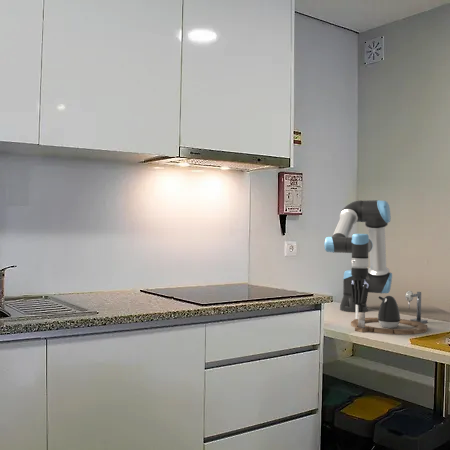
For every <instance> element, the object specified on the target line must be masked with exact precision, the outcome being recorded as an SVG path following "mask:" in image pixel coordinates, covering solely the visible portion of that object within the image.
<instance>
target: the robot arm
mask: <svg viewBox="0 0 450 450" xmlns="http://www.w3.org/2000/svg"><path fill="white" fill-rule="evenodd" d="M391 218H392V217H391V208H390V205H389V202H388V201H386V200H380V199H378V200H374V199H373V200H359V199H358V200H355V201H352V202H350V203H348V204H347V205H345V206H344V207H343V208H342V210H341V211H340V213H339V220H338V222H337V225H336V227H335V230H334V231H333V234H332V236H327V237H325V240H324V251H325V252H327V253H335V254H337V253H343V254H344V253H345V254H346V253H347V254H351V268H350V269H347V270H345V271H344V272H343V277H342V280H343V281H342V282H343V284H342V285H343V287H342V288H343V289H342V290H343V294H342V298H341V302H340V306H339V310H340V311H343V310H344V312H350V311H351V312H354V313H355V319H358V312H367V311H368V306H367V305H368V304H367V302H368V301H367V300H368V296H369V293H373V294H389V293H390V291H391V287H392V281H393V280H392V279H393V273H392V272H390V269H389V268H388V267H387V253H386V251H387V250H386V227H387V226H388V224H389V223H390V222H391ZM356 223H365V224H364V225H365V227H366V228H367V229H368V233H354V234H352V236H351V237H350V234H351V232H352V229H353V228H354V225H355V224H356ZM369 266H370V267H369Z"/></svg>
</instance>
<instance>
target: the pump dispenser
mask: <svg viewBox="0 0 450 450" xmlns="http://www.w3.org/2000/svg"><path fill="white" fill-rule="evenodd" d="M378 299H379V300H381V303H380V305H379V308H378V314H377V318H378V320H379V322H378V324H379V325H380V326H381V328H386V329H397V327H398V326H399V325H400V323H399V321H400V319H401V314H400V308H399V305H398V302H397V301H396V299H395V297H394V296H392V295H386V296H384V297H382V296H378Z"/></svg>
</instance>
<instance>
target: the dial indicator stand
mask: <svg viewBox="0 0 450 450" xmlns="http://www.w3.org/2000/svg"><path fill="white" fill-rule="evenodd" d="M404 296H405V300H406V302H408V310H410V309H411V301H413V300H414V298H416V318H412V319H411V318H410V319H409V320H411V321H416V322H420V323H423V324H428V320H427V319H422V291H416V293H413V291H412V290H407V291H406V292H405V295H404Z"/></svg>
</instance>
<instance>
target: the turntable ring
mask: <svg viewBox="0 0 450 450" xmlns="http://www.w3.org/2000/svg"><path fill="white" fill-rule="evenodd" d="M367 323H379V320H378V317H366V311H364V312H358V319H352V320H351V321H350V326H351V327H353V328H354V331H355V332H358V333H366V332H367V333H368V332H370V333H377V334H378V333H379V334H386V335H387V334H389V335H417V334H421V333H423V334H424V333H426V332H427V330H428V325H427V324H426V323H420V322H416V321H411V320H410V319H405V318H404V319H403V318H400V321H399V324H401V325H406V326H407V325H408V326H412V327H413V328H412V327H411V328H384V327H376V326H372V325H371V326H370V325H366V324H367Z"/></svg>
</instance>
